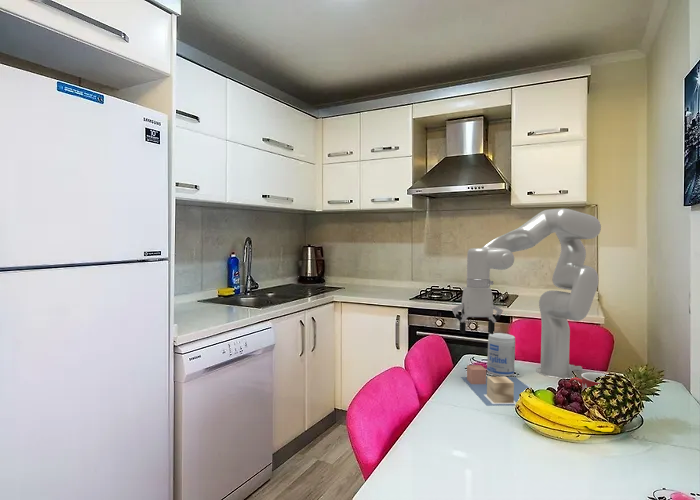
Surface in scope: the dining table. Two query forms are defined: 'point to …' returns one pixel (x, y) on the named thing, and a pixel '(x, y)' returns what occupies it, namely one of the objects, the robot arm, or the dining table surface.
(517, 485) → the dining table surface
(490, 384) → the beech block
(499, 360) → the supplement tub
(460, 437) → the dining table surface
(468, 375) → the terracotta block
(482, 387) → the board
